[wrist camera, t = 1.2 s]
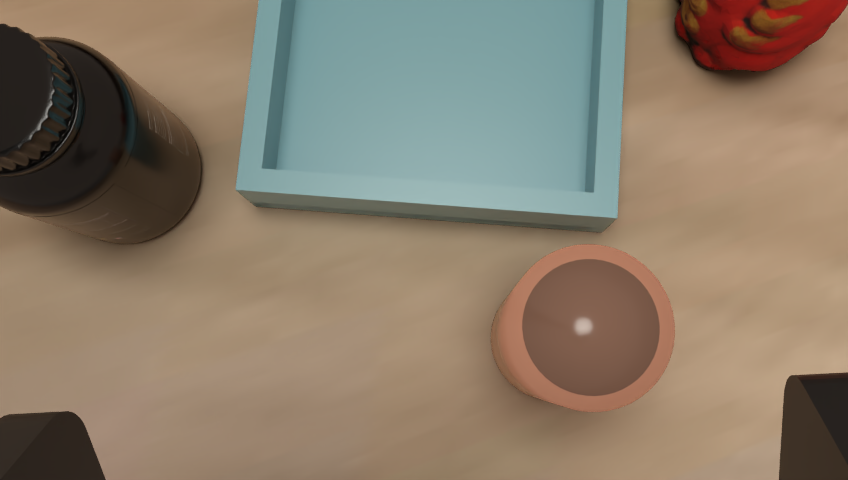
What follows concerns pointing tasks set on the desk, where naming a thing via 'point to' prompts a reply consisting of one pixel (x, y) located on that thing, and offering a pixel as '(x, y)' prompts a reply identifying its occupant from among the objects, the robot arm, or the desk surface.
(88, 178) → the supplement bottle
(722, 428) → the desk surface
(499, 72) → the teal tray
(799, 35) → the red clay folk toy
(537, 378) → the terracotta cup
